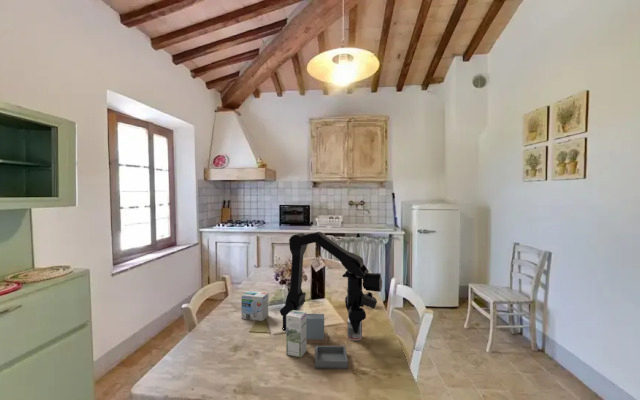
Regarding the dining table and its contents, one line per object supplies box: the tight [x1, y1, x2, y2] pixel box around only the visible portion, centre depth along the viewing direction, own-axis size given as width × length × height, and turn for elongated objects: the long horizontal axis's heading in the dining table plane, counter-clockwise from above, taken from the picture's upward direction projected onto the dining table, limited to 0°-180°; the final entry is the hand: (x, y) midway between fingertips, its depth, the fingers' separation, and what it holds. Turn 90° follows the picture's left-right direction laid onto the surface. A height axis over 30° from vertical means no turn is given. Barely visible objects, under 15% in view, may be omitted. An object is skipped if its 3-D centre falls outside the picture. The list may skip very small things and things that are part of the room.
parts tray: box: [314, 345, 349, 370], centre depth 113 cm, size 11×11×2 cm
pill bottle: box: [346, 317, 363, 342], centre depth 130 cm, size 6×6×10 cm
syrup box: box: [285, 310, 308, 358], centre depth 117 cm, size 6×6×14 cm
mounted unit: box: [306, 313, 329, 344], centre depth 129 cm, size 11×7×9 cm, turn 90°
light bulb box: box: [240, 290, 269, 322], centre depth 150 cm, size 11×7×11 cm, turn 74°
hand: (354, 328), depth 130 cm, fingers open, 9 cm apart
